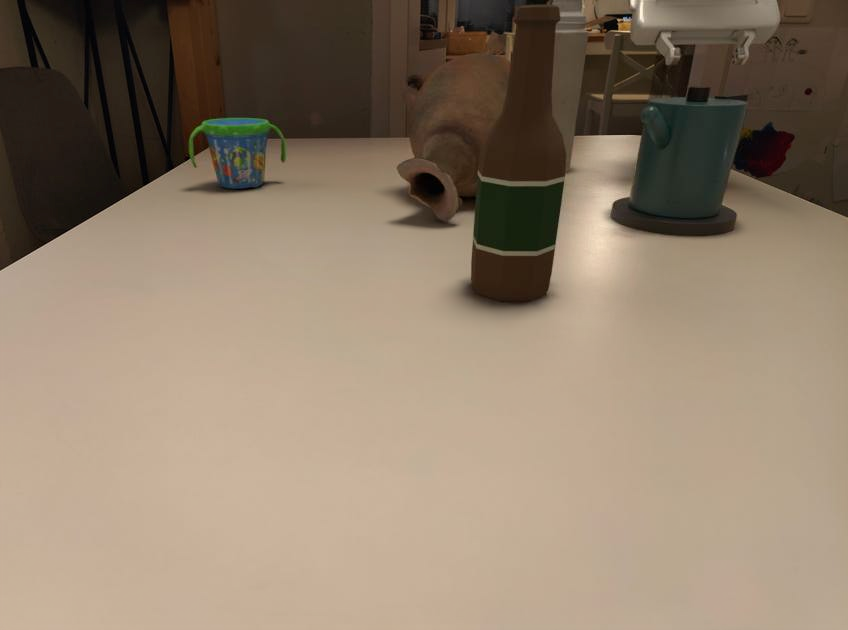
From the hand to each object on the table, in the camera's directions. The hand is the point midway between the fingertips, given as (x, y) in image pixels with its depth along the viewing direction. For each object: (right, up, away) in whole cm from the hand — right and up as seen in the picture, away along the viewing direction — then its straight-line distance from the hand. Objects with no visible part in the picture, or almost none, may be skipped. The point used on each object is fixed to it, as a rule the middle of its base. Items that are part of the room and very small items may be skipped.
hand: (707, 61), depth 90 cm
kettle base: (-9, -25, -8) cm, 28 cm away
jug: (-36, -20, +3) cm, 41 cm away
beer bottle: (-36, -37, -30) cm, 59 cm away
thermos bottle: (-17, -9, +23) cm, 30 cm away
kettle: (-9, -23, -9) cm, 27 cm away
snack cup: (-71, -15, +13) cm, 73 cm away
